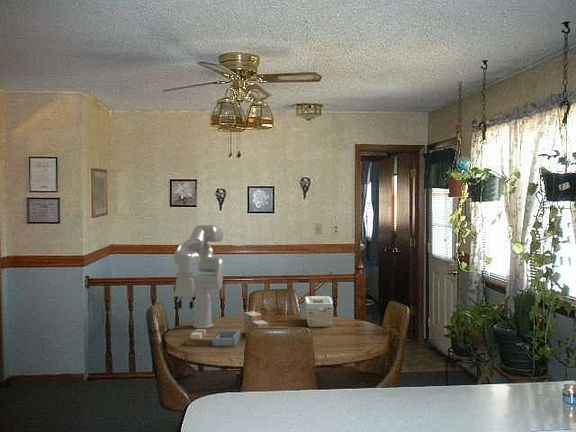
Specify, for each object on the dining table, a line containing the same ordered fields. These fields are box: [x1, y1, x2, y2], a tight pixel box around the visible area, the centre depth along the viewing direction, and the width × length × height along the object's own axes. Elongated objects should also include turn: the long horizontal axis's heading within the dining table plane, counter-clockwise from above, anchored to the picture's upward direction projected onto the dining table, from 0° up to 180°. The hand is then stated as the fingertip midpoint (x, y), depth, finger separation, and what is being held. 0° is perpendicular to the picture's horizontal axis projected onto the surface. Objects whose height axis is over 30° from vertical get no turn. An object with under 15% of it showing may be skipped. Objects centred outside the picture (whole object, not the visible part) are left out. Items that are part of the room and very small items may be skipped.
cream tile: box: [190, 331, 202, 339], centre depth 319 cm, size 5×5×2 cm
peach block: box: [194, 328, 207, 336], centre depth 327 cm, size 5×5×2 cm
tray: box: [211, 328, 242, 348], centre depth 321 cm, size 18×12×5 cm, turn 173°
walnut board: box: [184, 332, 219, 347], centre depth 323 cm, size 16×14×3 cm
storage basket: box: [304, 295, 334, 328], centre depth 366 cm, size 24×16×15 cm
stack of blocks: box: [243, 311, 269, 335], centre depth 334 cm, size 21×6×12 cm, turn 26°
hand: (185, 308), depth 327 cm, fingers open, 5 cm apart
